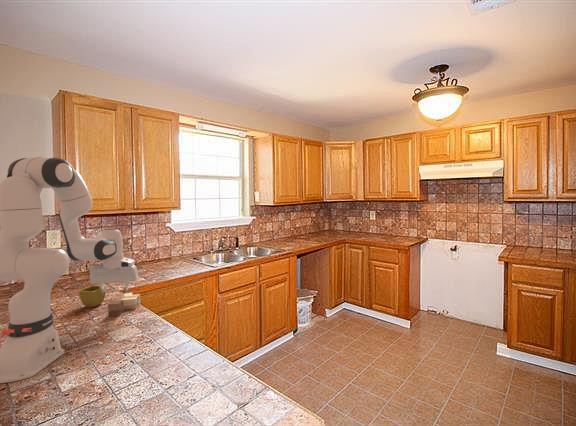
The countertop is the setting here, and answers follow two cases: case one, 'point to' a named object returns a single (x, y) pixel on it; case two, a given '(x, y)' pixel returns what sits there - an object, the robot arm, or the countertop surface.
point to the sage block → (127, 294)
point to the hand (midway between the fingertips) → (115, 291)
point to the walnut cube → (115, 308)
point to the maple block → (131, 301)
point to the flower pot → (92, 296)
